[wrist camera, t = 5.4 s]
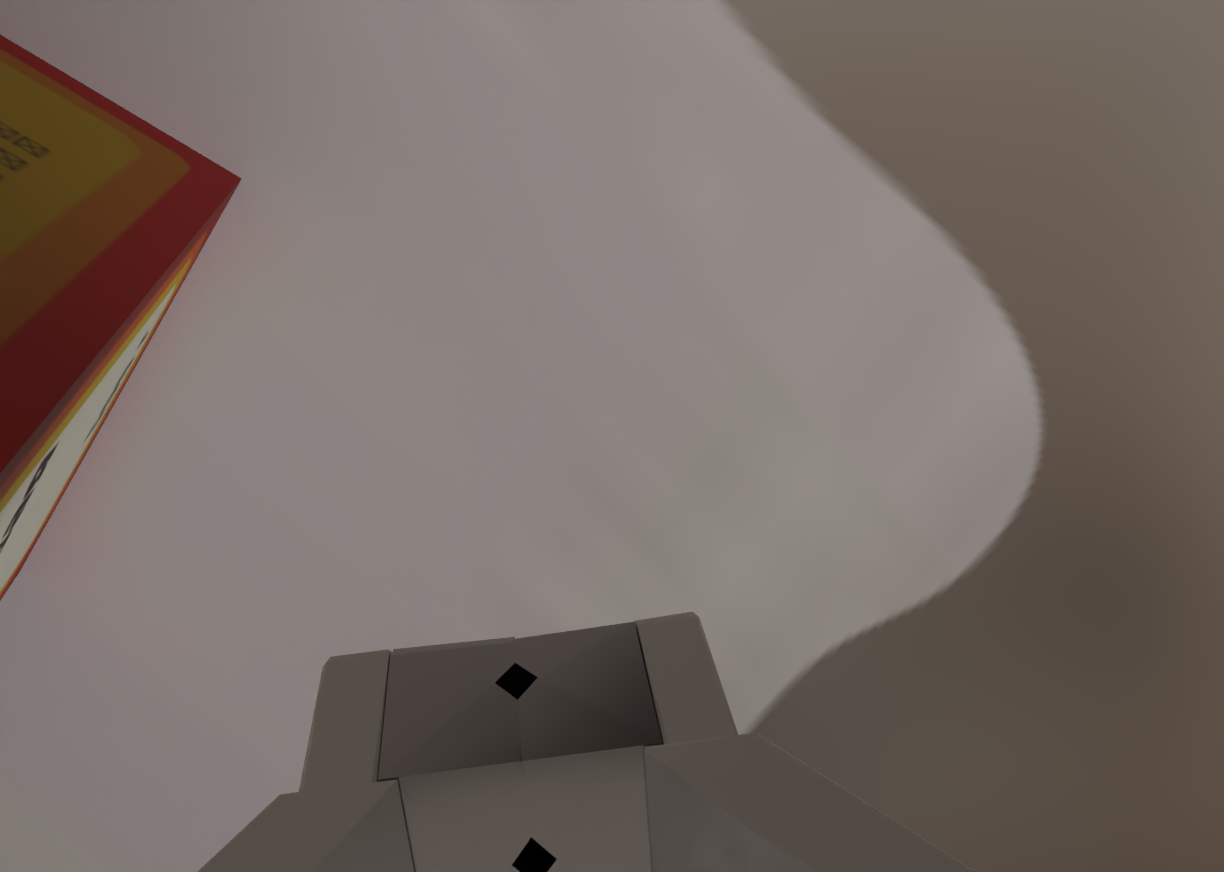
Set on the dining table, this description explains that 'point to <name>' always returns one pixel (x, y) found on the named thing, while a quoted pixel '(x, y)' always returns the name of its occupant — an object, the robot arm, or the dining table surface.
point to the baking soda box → (80, 272)
